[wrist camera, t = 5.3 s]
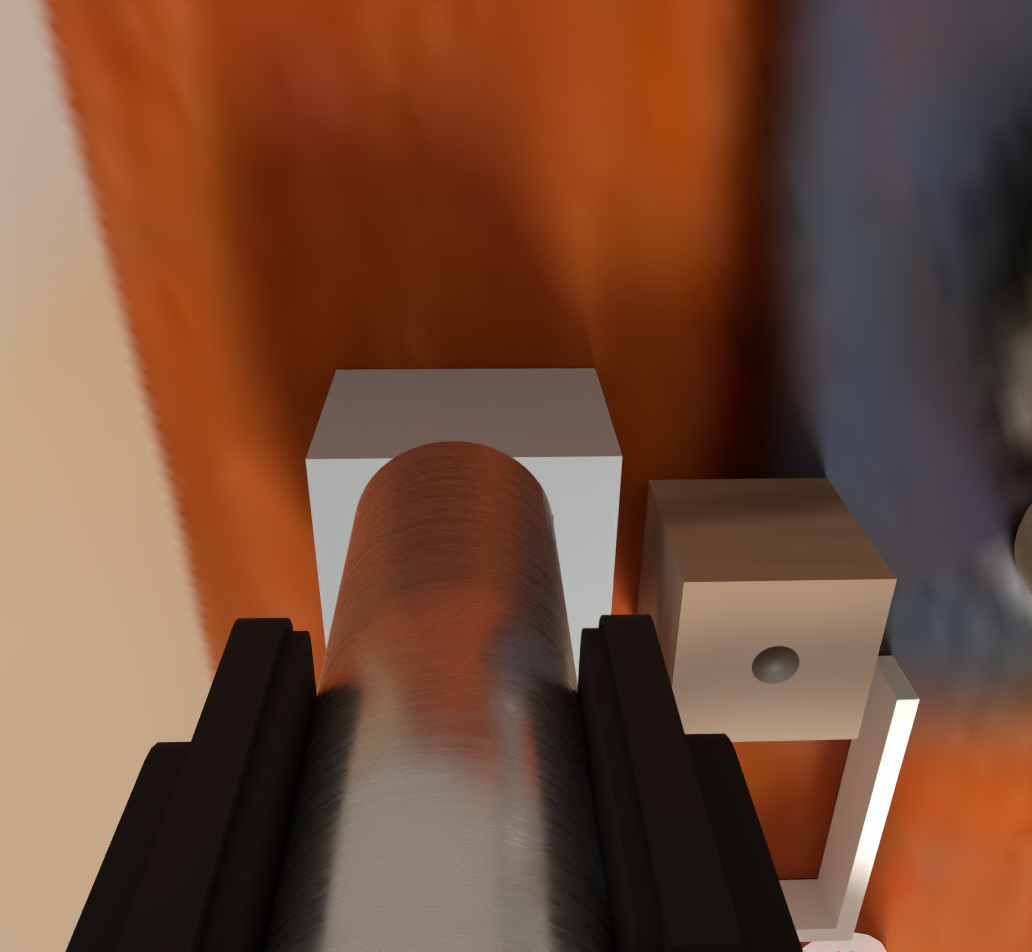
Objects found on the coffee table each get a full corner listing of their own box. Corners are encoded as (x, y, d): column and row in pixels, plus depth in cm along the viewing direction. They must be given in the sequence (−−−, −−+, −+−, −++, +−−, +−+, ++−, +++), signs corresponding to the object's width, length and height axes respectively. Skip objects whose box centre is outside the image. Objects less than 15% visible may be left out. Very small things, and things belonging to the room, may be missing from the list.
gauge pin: (348, 441, 13) (111, 1344, 5) (556, 440, 14) (718, 1316, 5) (360, 611, 15) (198, 1548, 6) (549, 609, 15) (662, 1522, 6)
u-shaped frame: (530, 662, 34) (534, 707, 32) (892, 655, 35) (919, 699, 33) (525, 899, 41) (528, 950, 39) (832, 890, 41) (851, 940, 39)
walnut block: (648, 478, 31) (684, 582, 26) (825, 476, 31) (897, 579, 26) (635, 623, 34) (665, 743, 29) (798, 620, 34) (857, 739, 29)
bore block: (336, 369, 29) (305, 459, 23) (595, 368, 29) (622, 456, 24) (354, 583, 33) (331, 702, 27) (583, 580, 33) (604, 697, 28)
